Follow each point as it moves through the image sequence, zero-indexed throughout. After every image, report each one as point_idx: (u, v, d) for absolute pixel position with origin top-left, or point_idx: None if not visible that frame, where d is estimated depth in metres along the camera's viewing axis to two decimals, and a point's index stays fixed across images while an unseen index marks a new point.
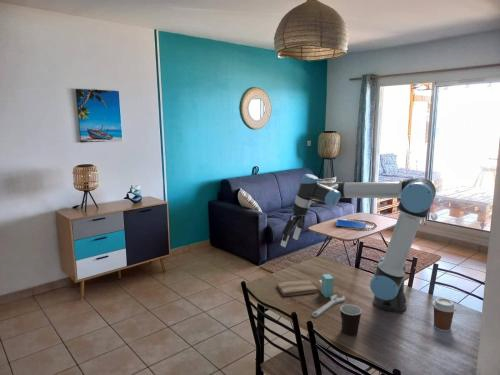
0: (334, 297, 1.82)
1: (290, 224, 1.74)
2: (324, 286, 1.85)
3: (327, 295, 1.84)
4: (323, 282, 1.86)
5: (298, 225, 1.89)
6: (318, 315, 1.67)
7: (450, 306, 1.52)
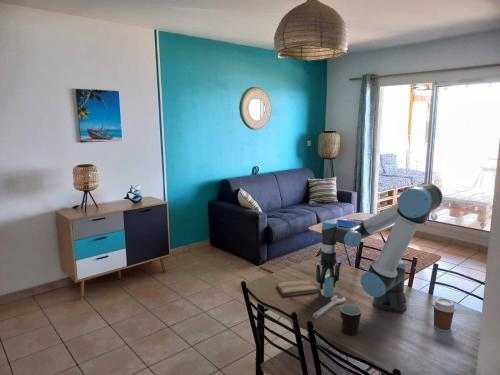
0: (334, 298, 1.81)
1: (317, 272, 1.83)
2: None
3: (327, 295, 1.84)
4: None
5: None
6: (318, 316, 1.66)
7: (450, 306, 1.52)
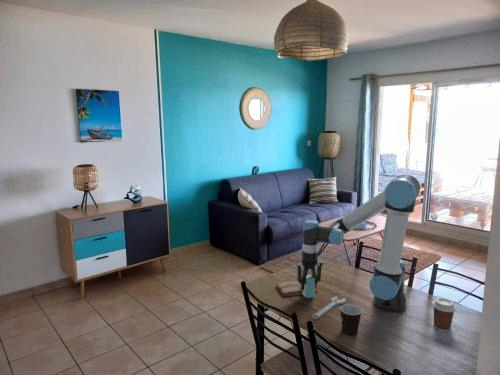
0: (334, 299, 1.80)
1: (298, 272, 1.80)
2: None
3: (308, 296, 1.82)
4: None
5: None
6: (318, 317, 1.65)
7: (450, 306, 1.52)
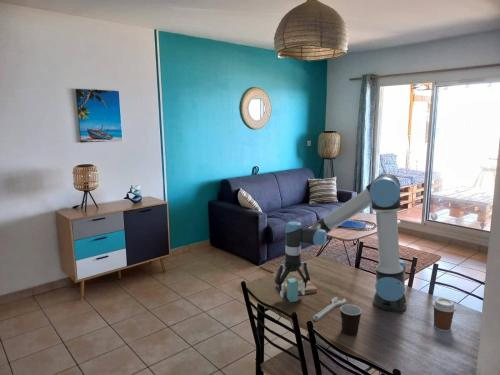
0: (335, 300, 1.79)
1: (278, 272, 1.78)
2: (289, 290, 1.80)
3: (292, 300, 1.80)
4: (288, 286, 1.81)
5: (303, 279, 1.83)
6: (319, 318, 1.64)
7: (450, 306, 1.52)
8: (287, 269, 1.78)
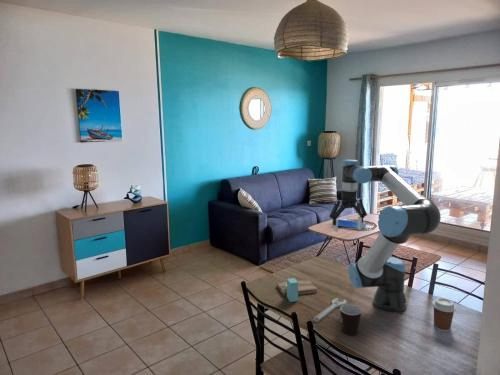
0: (335, 301, 1.78)
1: (335, 207, 1.85)
2: (289, 290, 1.80)
3: (292, 300, 1.80)
4: (288, 286, 1.81)
5: None
6: (319, 320, 1.63)
7: (450, 306, 1.52)
8: (343, 205, 1.85)
